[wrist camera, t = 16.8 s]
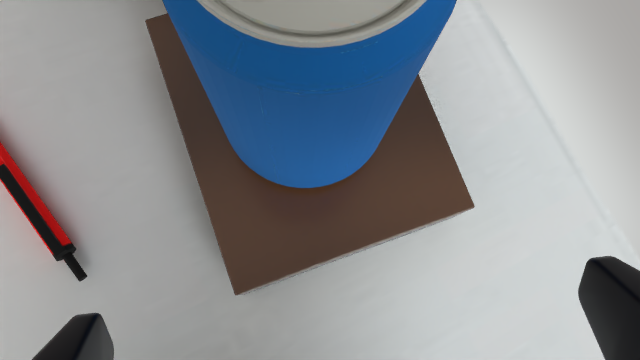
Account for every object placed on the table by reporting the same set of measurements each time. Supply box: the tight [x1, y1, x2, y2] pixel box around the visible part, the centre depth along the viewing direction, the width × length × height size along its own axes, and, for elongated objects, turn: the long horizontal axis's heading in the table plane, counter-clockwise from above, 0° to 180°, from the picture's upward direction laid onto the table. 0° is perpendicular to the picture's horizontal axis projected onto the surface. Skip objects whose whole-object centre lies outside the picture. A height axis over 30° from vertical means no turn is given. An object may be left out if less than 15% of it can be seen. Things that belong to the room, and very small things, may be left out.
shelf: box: [146, 13, 474, 295], centre depth 23 cm, size 12×10×3 cm
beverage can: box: [163, 0, 457, 188], centre depth 15 cm, size 6×6×12 cm
